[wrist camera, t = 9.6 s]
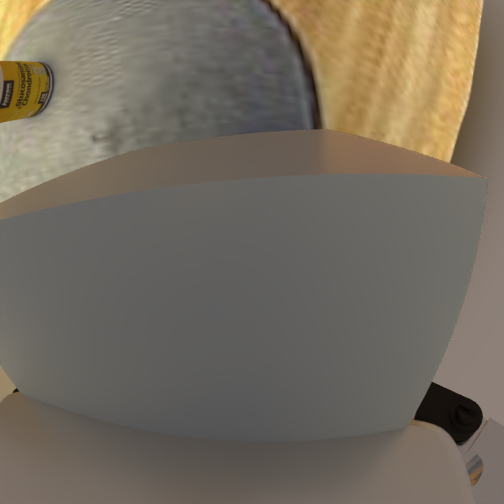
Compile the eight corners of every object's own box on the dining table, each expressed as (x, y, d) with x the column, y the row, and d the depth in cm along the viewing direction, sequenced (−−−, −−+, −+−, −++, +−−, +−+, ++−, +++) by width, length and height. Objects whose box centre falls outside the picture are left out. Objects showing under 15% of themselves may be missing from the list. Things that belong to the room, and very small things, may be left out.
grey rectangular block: (130, 151, 11) (-61, 238, 3) (327, 129, 10) (488, 178, 2) (191, 381, 16) (155, 512, 8) (321, 380, 15) (333, 523, 8)
